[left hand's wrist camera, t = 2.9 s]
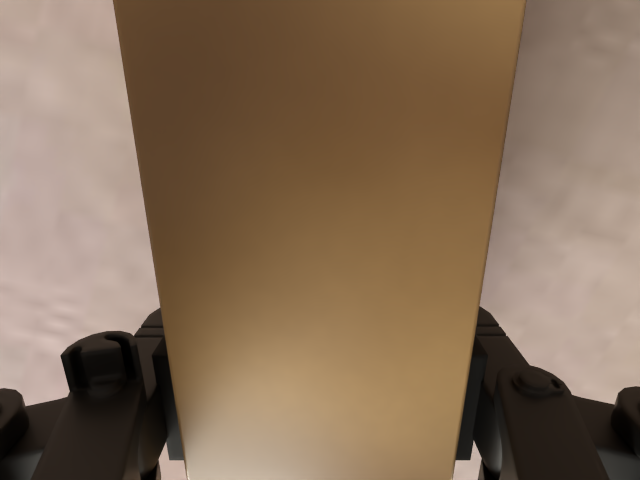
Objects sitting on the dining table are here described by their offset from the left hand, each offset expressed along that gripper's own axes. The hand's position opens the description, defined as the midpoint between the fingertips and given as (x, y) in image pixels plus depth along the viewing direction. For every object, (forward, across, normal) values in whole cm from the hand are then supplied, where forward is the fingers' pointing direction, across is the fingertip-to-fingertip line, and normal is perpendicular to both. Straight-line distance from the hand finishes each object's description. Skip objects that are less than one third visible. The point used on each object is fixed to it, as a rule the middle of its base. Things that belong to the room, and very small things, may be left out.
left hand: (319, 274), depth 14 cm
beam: (+1, 0, -18) cm, 18 cm away
